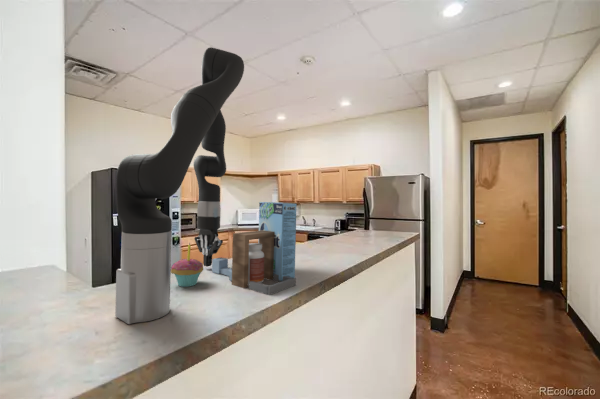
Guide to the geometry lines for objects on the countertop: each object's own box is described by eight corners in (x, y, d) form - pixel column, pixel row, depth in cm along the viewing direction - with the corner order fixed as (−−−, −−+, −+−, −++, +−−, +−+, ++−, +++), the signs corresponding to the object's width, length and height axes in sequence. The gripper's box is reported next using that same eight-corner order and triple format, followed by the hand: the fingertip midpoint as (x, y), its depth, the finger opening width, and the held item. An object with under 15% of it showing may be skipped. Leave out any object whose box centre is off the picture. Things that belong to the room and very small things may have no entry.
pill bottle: (266, 279, 87) (267, 243, 87) (259, 285, 81) (260, 246, 81) (248, 278, 89) (248, 242, 89) (238, 283, 83) (239, 245, 83)
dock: (269, 295, 74) (269, 287, 74) (248, 288, 78) (249, 281, 78) (295, 285, 83) (295, 278, 83) (275, 280, 87) (276, 273, 87)
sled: (253, 275, 91) (253, 262, 91) (233, 281, 84) (234, 266, 84) (226, 268, 99) (226, 256, 99) (206, 273, 92) (206, 260, 92)
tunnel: (273, 278, 89) (274, 231, 88) (243, 288, 79) (245, 235, 79) (261, 275, 92) (262, 230, 91) (231, 284, 82) (232, 233, 82)
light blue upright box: (295, 280, 86) (297, 203, 86) (279, 281, 84) (282, 203, 84) (269, 265, 103) (272, 202, 103) (256, 267, 101) (258, 201, 101)
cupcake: (206, 286, 80) (207, 242, 80) (173, 290, 75) (174, 244, 75) (198, 278, 87) (199, 238, 87) (167, 282, 82) (168, 240, 82)
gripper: (187, 214, 99) (186, 264, 99) (211, 216, 91) (210, 271, 91) (206, 213, 105) (205, 261, 105) (230, 215, 97) (229, 267, 97)
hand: (207, 265), depth 98 cm, fingers closed
